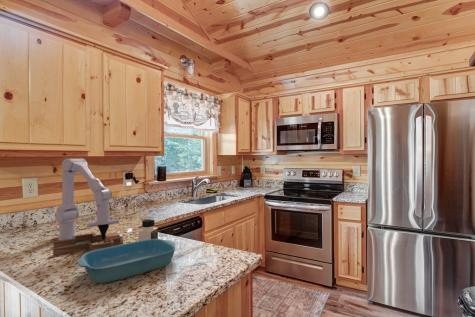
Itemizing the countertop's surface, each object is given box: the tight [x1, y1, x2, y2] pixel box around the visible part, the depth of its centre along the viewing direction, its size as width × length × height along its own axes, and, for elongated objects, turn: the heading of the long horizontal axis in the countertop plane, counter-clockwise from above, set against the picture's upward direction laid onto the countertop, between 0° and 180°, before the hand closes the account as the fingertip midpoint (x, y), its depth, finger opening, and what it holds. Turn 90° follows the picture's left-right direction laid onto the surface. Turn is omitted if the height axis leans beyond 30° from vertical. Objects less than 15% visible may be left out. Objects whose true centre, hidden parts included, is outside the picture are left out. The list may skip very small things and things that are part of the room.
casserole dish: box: [76, 238, 176, 284], centre depth 103 cm, size 37×22×7 cm, turn 131°
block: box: [104, 231, 119, 243], centre depth 134 cm, size 6×6×4 cm
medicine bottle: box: [137, 218, 159, 241], centre depth 133 cm, size 7×7×12 cm
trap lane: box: [52, 230, 124, 256], centre depth 129 cm, size 22×29×4 cm
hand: (103, 239), depth 132 cm, fingers closed
